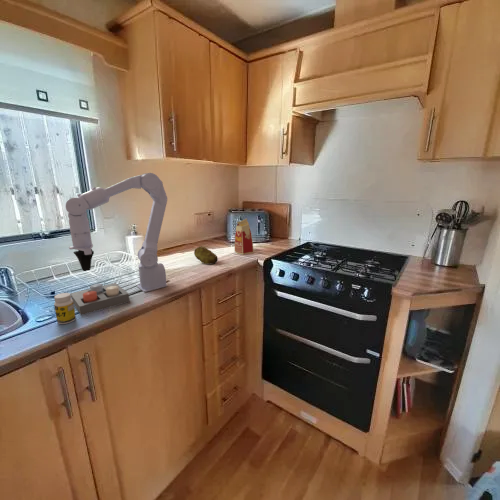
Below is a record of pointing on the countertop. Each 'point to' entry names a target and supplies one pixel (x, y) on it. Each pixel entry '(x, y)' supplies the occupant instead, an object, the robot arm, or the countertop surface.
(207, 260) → the olive green oval lump
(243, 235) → the milk carton
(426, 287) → the countertop surface
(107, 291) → the button ivory
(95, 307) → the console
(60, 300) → the supplement bottle
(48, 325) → the countertop surface
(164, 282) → the robot arm
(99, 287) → the button slate
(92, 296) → the button red
